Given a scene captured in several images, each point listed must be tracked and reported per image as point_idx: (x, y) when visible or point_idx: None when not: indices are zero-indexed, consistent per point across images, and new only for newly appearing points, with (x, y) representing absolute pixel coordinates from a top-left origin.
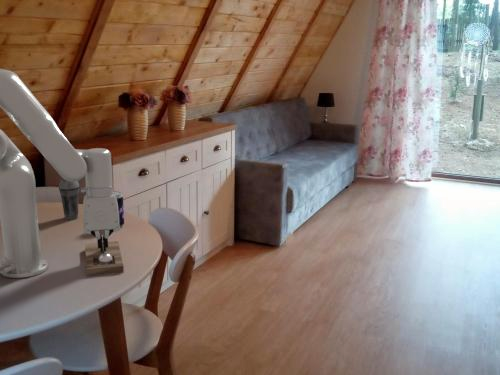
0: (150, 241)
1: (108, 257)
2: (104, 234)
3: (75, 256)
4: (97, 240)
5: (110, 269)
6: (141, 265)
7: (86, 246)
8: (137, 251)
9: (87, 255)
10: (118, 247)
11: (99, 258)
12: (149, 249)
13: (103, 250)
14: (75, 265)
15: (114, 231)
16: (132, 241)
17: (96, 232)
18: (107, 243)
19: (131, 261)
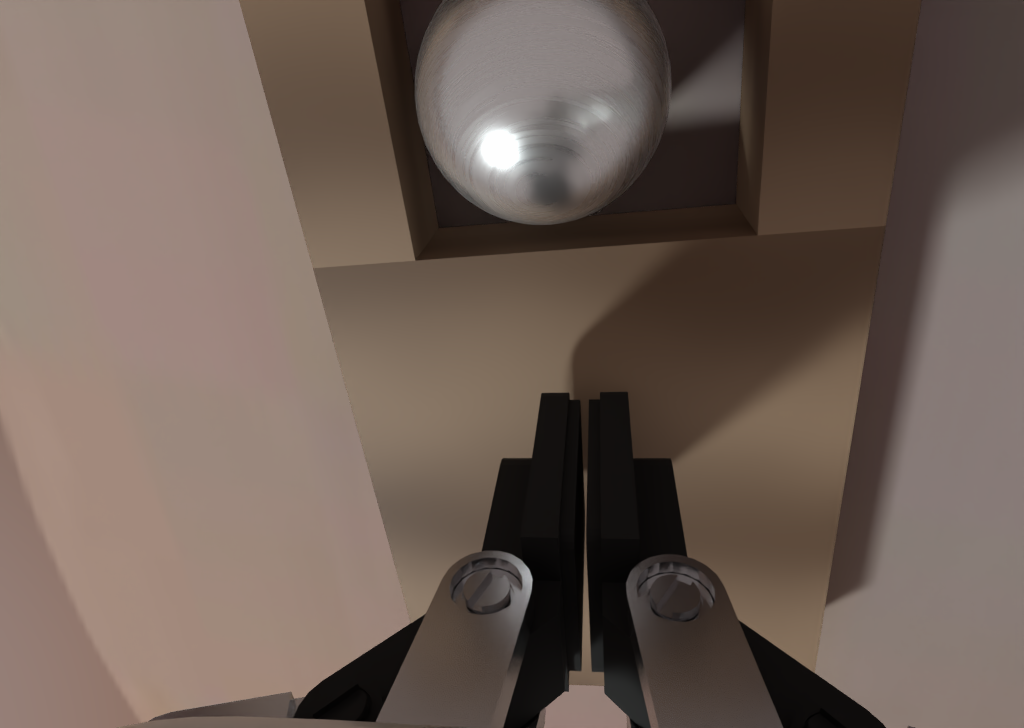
0: (164, 665)
1: (465, 4)
2: (534, 677)
3: (938, 501)
4: (686, 555)
5: None
6: (38, 39)
7: (804, 634)
8: (223, 489)
9: (837, 351)
10: (396, 530)
11: (654, 44)
12: (113, 510)
13: (586, 480)
14: (1013, 209)
15: (287, 700)
16: None
17: (734, 717)
18: (501, 499)
19: (218, 216)
